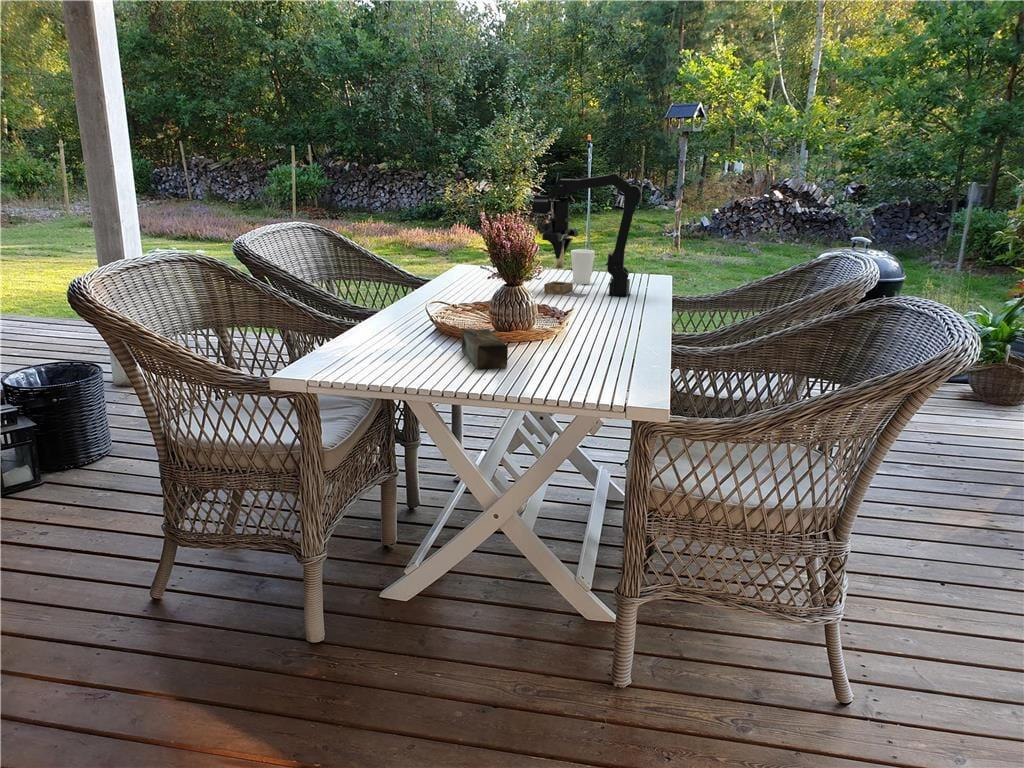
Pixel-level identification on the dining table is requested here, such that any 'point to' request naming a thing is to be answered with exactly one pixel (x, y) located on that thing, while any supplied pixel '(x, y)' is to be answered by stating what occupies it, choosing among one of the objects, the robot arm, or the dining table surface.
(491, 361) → the beverage carton
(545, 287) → the socket block
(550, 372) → the dining table surface
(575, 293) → the mat
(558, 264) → the pin
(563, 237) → the robot arm
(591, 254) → the foam cup
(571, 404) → the dining table surface
